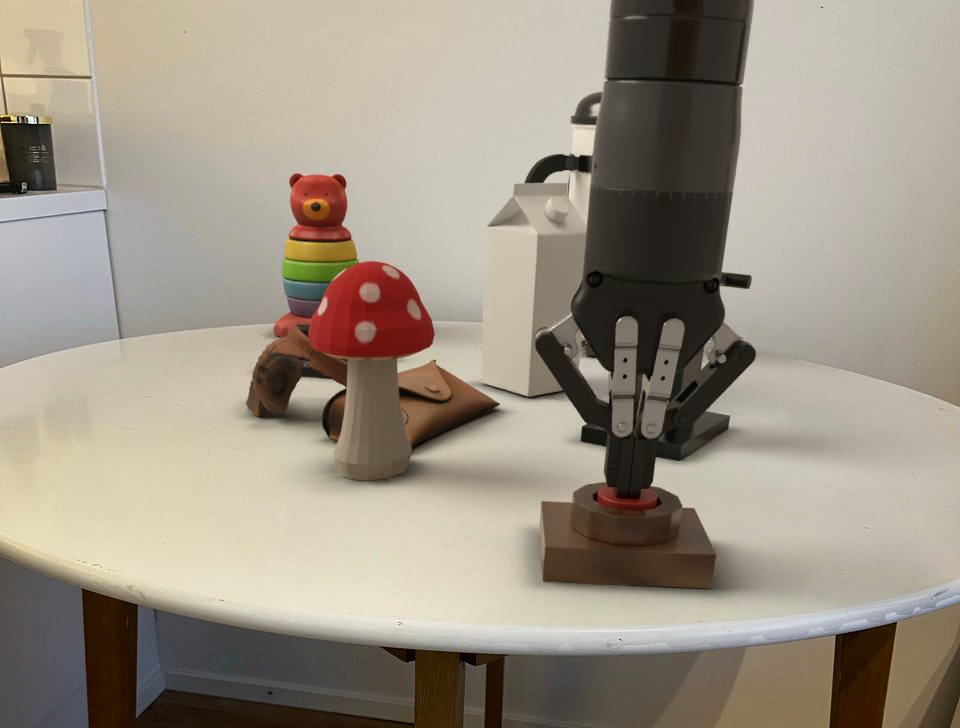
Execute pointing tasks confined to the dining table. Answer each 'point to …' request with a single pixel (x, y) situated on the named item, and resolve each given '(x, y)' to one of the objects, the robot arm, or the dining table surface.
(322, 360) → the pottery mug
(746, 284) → the stand lever
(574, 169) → the coffee press
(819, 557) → the dining table surface
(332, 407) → the sunglasses case
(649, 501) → the red button
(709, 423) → the lever stand
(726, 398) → the dining table surface
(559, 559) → the button block
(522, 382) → the milk carton
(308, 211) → the stacking bear
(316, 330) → the decorative mushroom
